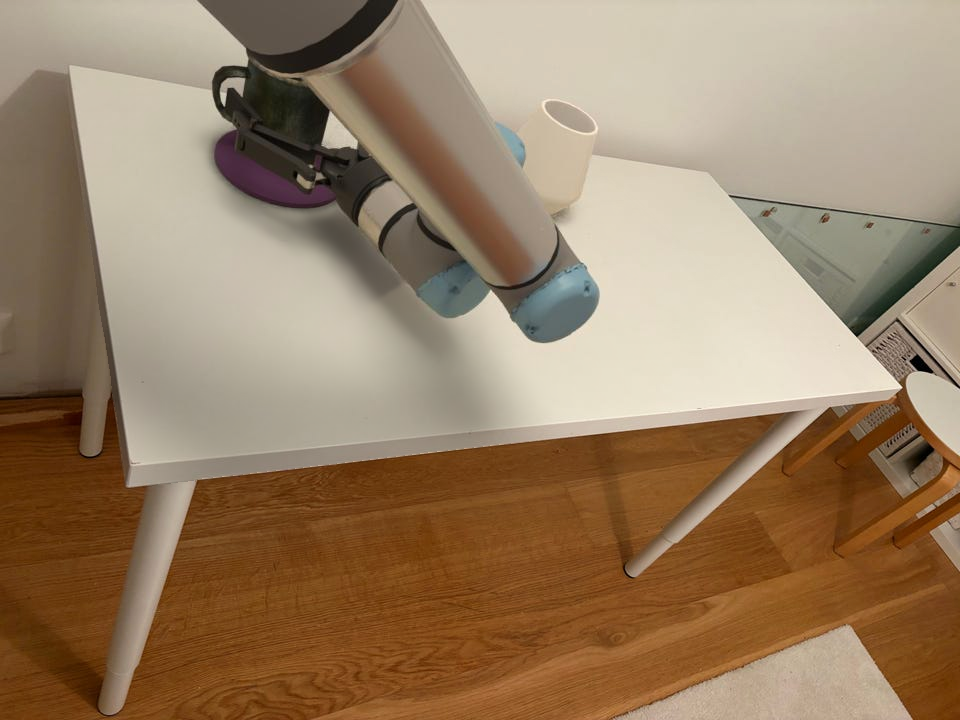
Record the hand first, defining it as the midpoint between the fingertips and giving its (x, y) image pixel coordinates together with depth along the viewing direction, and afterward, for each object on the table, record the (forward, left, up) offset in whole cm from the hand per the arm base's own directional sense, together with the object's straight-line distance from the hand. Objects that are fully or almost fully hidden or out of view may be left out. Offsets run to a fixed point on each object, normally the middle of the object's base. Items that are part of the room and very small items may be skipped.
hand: (280, 95), depth 87 cm
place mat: (+3, -1, -8) cm, 9 cm away
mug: (-1, 0, -8) cm, 8 cm away
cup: (+24, +30, -8) cm, 40 cm away
